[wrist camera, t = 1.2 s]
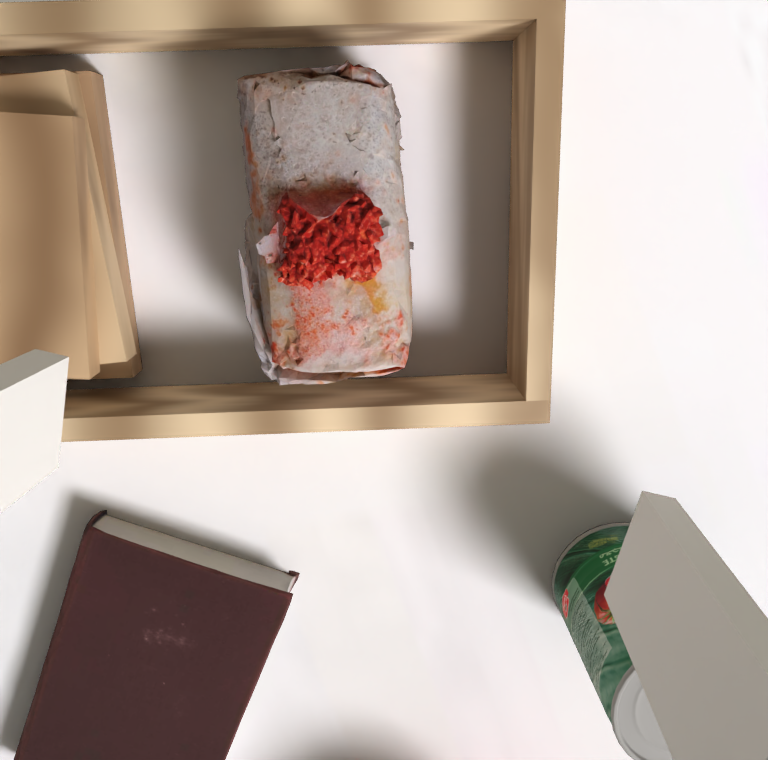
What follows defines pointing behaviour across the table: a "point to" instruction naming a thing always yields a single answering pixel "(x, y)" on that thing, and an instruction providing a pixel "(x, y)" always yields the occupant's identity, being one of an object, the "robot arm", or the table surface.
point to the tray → (344, 28)
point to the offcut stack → (63, 227)
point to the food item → (325, 225)
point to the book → (153, 649)
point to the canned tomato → (605, 639)
